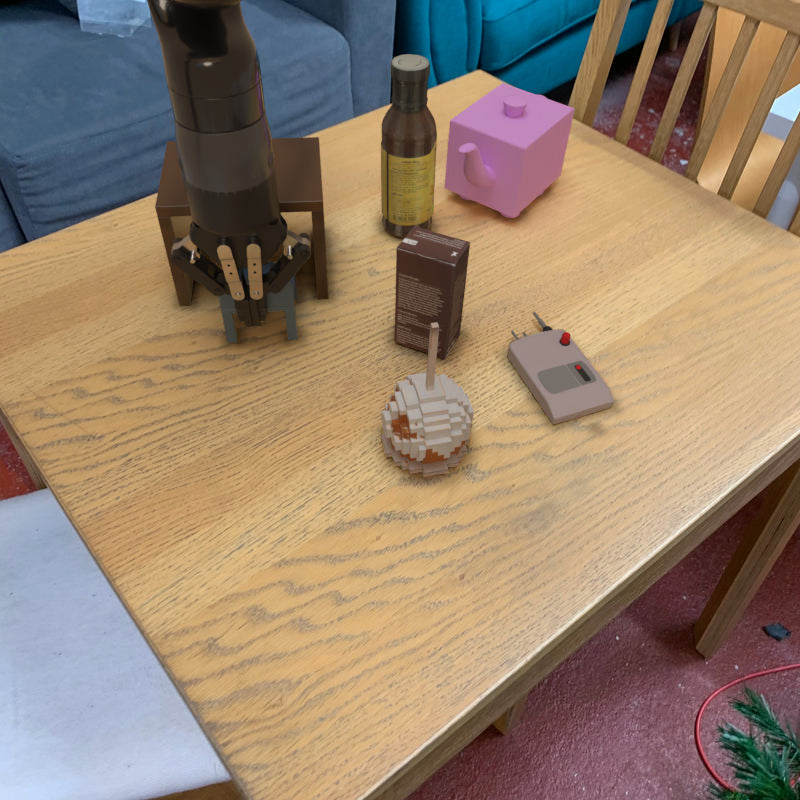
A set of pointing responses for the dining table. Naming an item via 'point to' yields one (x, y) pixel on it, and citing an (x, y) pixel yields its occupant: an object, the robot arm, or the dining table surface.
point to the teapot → (507, 148)
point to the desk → (295, 194)
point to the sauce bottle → (408, 149)
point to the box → (430, 289)
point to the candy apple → (427, 419)
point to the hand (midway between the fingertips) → (253, 321)
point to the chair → (274, 303)
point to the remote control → (559, 374)
